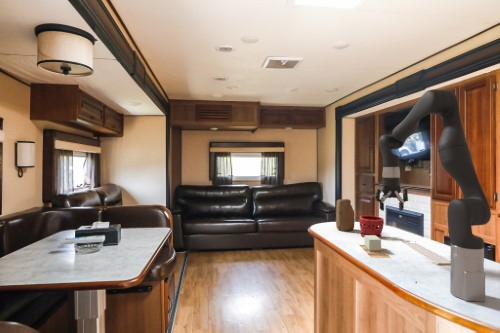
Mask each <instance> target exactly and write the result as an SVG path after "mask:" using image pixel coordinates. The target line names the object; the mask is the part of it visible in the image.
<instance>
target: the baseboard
mask: <svg viewBox="0 0 500 333" xmlns="http://www.w3.org/2000/svg"><path fill="white" fill-rule="evenodd" d="M407 242H408V243H407ZM404 244H405V245H406V246H408V247H409V248H411V249H412V250H413V251H415V252H417V253H418V254H419V255H421V256H423V257H424V258H426V259H427V260H428V261H430V262H432V263H433V264H435V265H436V266H450V265H451V259H449V258H446V257H443V256H442V255H440V254H438V253H436V252H434V251H432V250H431V249H428V248H426V247H425V246H422V245H420V244H419V243H417V240H416V241H414V243H413V242H412V243H411V240H405V243H404Z"/></svg>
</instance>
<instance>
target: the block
mask: <svg viewBox="0 0 500 333" xmlns="http://www.w3.org/2000/svg"><path fill="white" fill-rule="evenodd" d="M351 203H352V202H351V199H348V198H345V199H343V198H341V199H336V206H335V207H336V208H335V215H336V217H335V226H336V230H338V231H341V232H350V231H353V230H354V229H355V220H356V219H355V210H354V208H353V206H352V204H351Z"/></svg>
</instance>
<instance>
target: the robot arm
mask: <svg viewBox="0 0 500 333" xmlns="http://www.w3.org/2000/svg"><path fill="white" fill-rule="evenodd" d="M427 115H439V116H440V117H441V121H442V132H441V135H440V137H439V140H438V143H437V152H438V156H439V161H440V164H441V166H442V168H443V169H444V170H445V172H446V173H447V174H448V175H449V176H450V177H451V178H452V179H453V180H454V181H455V182H456V184H457V185H458V187H459V189H460V190H461V192H462V196H463V198H454V199H452V200H450V202H449V204H448V205H447V212H446V213H447V230H448V236H449V238H450V261H451V265H449V268H450V273H449V274H450V275H449V276H450V279H449V280H450V282H449V283H450V285H449V287H450V288H449V289H450V290H449V291H450V294H451V295H453V296H454V297H455V298H459V299H462V300H463V301H465V302H486V273H485V270H484V269H485V240H484V238H482V237H480V236H479V235H474V233H473V230H472V227H473V226H484V225H487V224H488V223H489V222H490V221H491V217H492V212H491V208H490V204H489V201H488V199H487V197H486V194H485V192H484V189H483V187H482V186H481V185H482V184H481V183H480V180H479V177H478V174H477V171H476V168H475V165H474V161H473V159H472V154H471V150H470V147H469V144H468V142H467V139H466V136H465V132H464V128H463V123H462V120H461V119H462V118H461V113H460V106H459V102H458V98H457V95H456V93H455V92H454V91H453V90H448V89H430V90H429V89H428V90H427V91H425V92H424V93H423V94H422V95H421V96H420V97H419V99H418V101H416V103H415V104H414V106H413V107H412V109H411V110H410V111H409V113H408V114H407V115H406V116H405V118H403V120H402V121H401V122H400V123H398V124H397V125H396V126H395V127H394V128H393V130H392V132H391V133H392V134H382V135H380V137H379V139H378V147H379V150H380V153H381V156H382V188H376V189H375V197H374V198H375V199H374V200H375V201H376V202H378V203H379V209H380V211H382V212H383V211H385V201H386V200H387V199H392V198H393V199H397V200H398V201H399V202H398V209H399V211H401V212H402V211H403V210H404V208H405V206H404V205H405V204H404V203H406V202H408V201H409V196H408V194H409V193H408V189H407V188H404V187H403V188H401V170H400V156H399V155H398V154H395V153H392V151H391V150H399V149H401V148H402V147H403V146H404V144H405V143H406V141H407V139H409V137H411V136H412V135H413V134H414V133H415V132H416V131H417V130H418V128H419V124H420V120H422V119H423V118H424V117H426V116H427ZM382 193H383V194H382ZM400 193H402V195H400ZM381 194H382V196H381Z"/></svg>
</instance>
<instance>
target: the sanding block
mask: <svg viewBox="0 0 500 333" xmlns="http://www.w3.org/2000/svg"><path fill="white" fill-rule="evenodd" d="M364 245H365V248H366V249H367V250H368V251H369V252H381V249H382V239H381V237H377V236H376V235H365V237H364Z"/></svg>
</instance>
